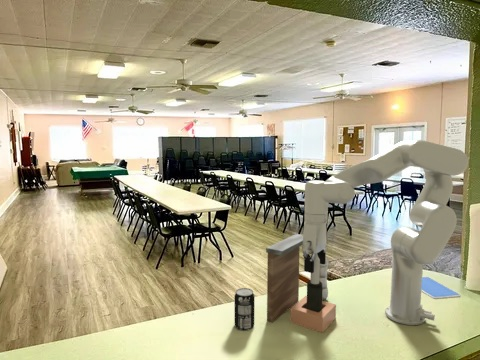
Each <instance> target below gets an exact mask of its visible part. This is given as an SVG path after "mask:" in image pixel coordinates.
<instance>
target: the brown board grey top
mask: <svg viewBox="0 0 480 360" xmlns="http://www.w3.org/2000/svg"><path fill="white" fill-rule="evenodd" d="M302 243H303V234H298V233H296V234H292V235H291V236H287V238H284V239H282V240H280V241H278V242H276V243H274V244H272V245H270V246H267V247H266V248H265V252H266V253H267V268H266V269H267V276H266V277H267V278H266V279H267V281H266V282H267V283H266V284H267V288H266V290H267V291H266V293H267V294H266V296H267V297H266V301H267V302H266V322H267V323H270V324H273V323H274V322H275V321H277V320H278V319H280V317H281V316H283V315H284V314H285V313H286V312H288V311H290V310H291V307H293V306H294V305H295V304H296V303H298V302H299V293H300V292H299V291H300V286H299V285H300V247H302Z"/></svg>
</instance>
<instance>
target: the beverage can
mask: <svg viewBox="0 0 480 360" xmlns="http://www.w3.org/2000/svg"><path fill="white" fill-rule="evenodd" d="M234 326H235V327H236V328H237V329H238V330H239V331H250V330H251V329H252V328H253V327H254V326H255V294H254V291H253V289H252V288H249V287H248V288H246V287H241V288H238V289H236V291H235V294H234Z"/></svg>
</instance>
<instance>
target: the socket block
mask: <svg viewBox="0 0 480 360" xmlns="http://www.w3.org/2000/svg"><path fill="white" fill-rule="evenodd" d="M336 311H337V304H335V303H332V302H329V301H325V300H322V310H321V311H320V312H319V313H318V312H315V311H312V310H308V309H307V295H305V296H303V297H302V298H301V299H300V300H298V302H297V303H296V304H295V305H294V306H292V307H291V308H290V323H292V324H295V325H298V326H301V327H305V328H307V329H309V330H313V331H316V332H319V333H321V334H323V333H324V332H325V331H326V330H327V329H328V328H329V326H330V325H331V324H332V323H333V322H334V321H335V319H336V314H337V312H336Z"/></svg>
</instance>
